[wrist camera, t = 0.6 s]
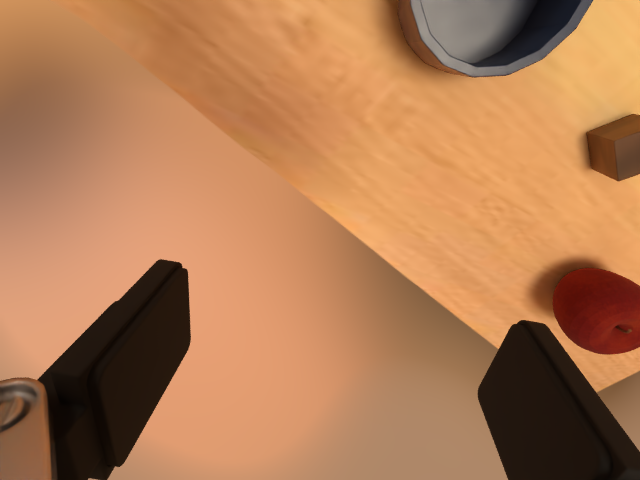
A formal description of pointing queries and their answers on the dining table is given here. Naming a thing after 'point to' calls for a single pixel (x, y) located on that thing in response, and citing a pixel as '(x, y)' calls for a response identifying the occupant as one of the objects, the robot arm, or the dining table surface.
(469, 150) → the dining table surface
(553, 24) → the tin
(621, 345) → the apple
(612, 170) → the block
